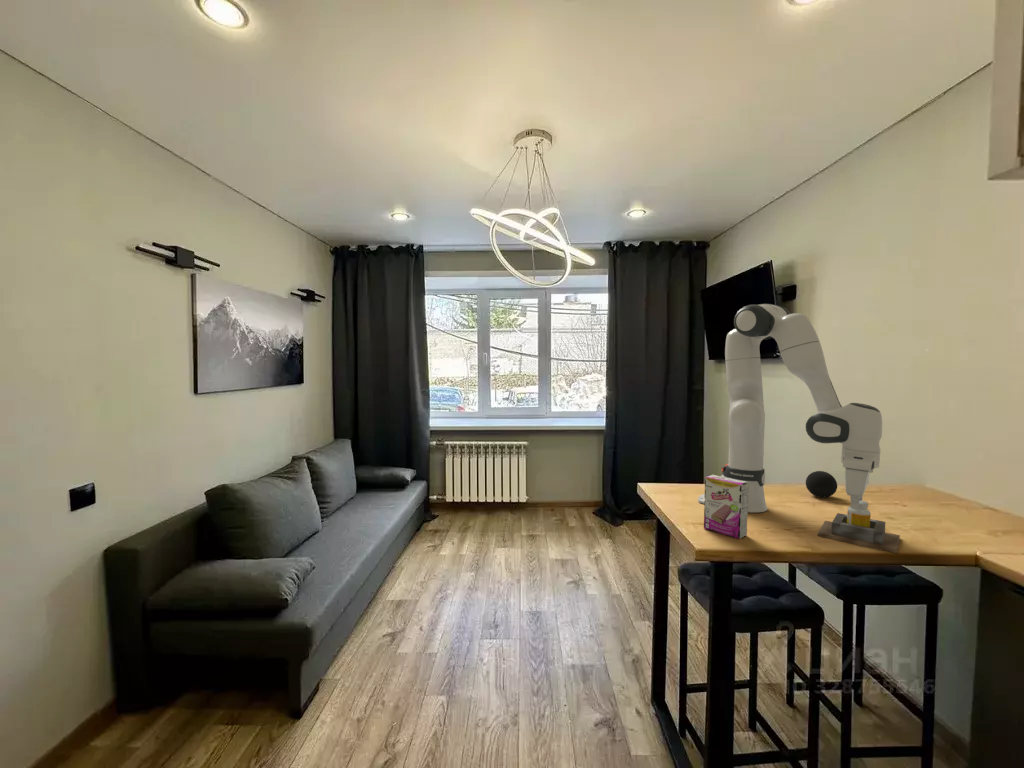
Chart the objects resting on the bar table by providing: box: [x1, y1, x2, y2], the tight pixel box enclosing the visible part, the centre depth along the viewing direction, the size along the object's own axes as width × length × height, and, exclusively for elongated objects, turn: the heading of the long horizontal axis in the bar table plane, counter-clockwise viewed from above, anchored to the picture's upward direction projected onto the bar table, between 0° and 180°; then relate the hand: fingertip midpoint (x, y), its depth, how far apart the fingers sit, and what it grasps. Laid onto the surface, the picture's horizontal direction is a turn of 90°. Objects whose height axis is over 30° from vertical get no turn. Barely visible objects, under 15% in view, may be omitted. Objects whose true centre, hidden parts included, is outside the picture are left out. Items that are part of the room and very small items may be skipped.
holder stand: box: [816, 512, 901, 554], centre depth 131 cm, size 18×14×4 cm
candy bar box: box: [703, 474, 749, 540], centre depth 135 cm, size 11×5×16 cm, turn 39°
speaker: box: [805, 470, 838, 499], centre depth 171 cm, size 10×10×10 cm
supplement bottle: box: [846, 500, 872, 528], centre depth 131 cm, size 5×5×10 cm
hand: (856, 505), depth 132 cm, fingers open, 8 cm apart
